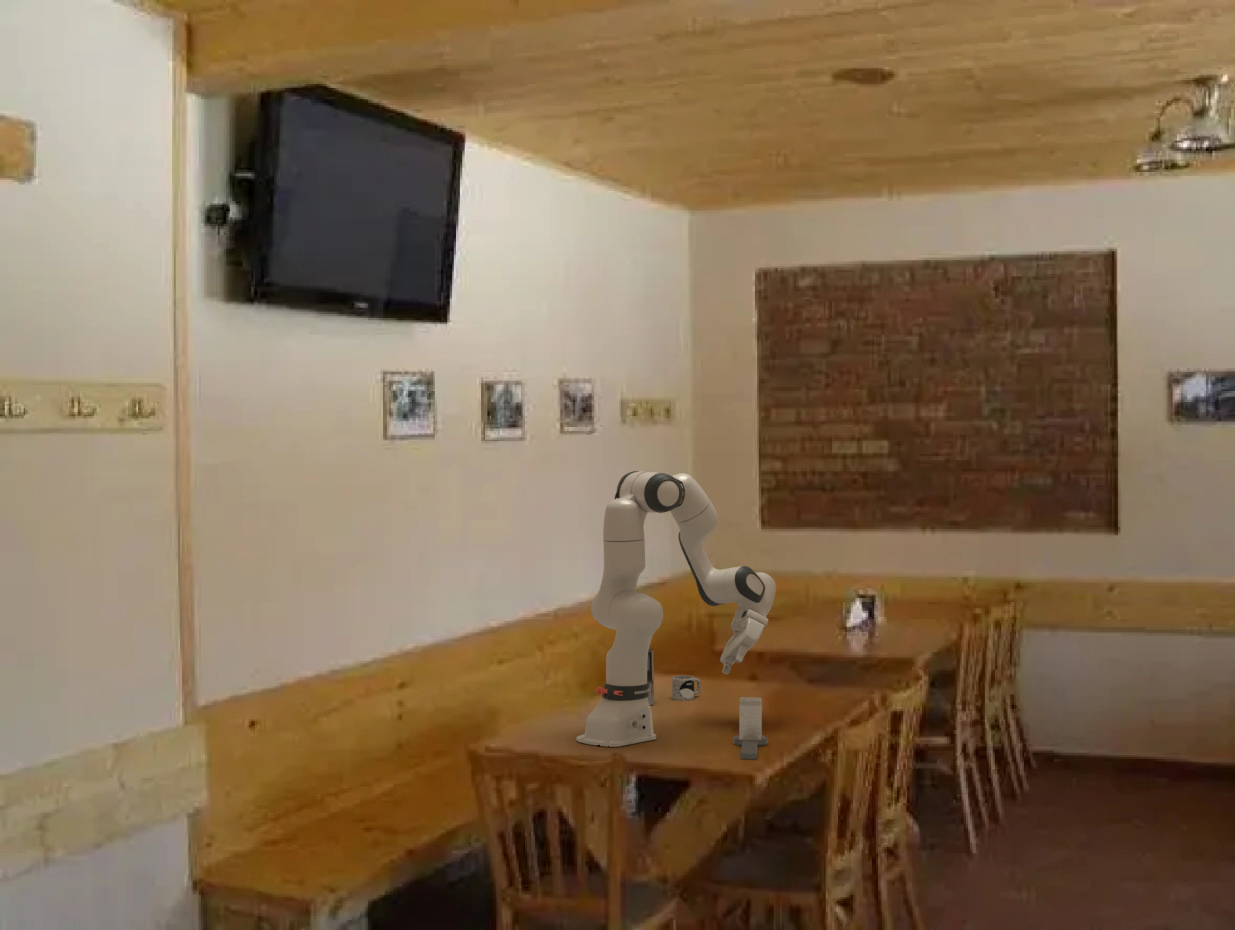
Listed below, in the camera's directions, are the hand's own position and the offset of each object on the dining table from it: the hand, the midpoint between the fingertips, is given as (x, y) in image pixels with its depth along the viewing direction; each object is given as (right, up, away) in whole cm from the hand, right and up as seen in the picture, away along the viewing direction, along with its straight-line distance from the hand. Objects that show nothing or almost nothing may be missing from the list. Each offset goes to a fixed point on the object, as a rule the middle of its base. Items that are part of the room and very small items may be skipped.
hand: (731, 667), depth 418 cm
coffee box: (-25, -16, +38) cm, 48 cm away
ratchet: (+3, -18, -26) cm, 32 cm away
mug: (-10, -16, +47) cm, 50 cm away
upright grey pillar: (+4, -16, -19) cm, 25 cm away
